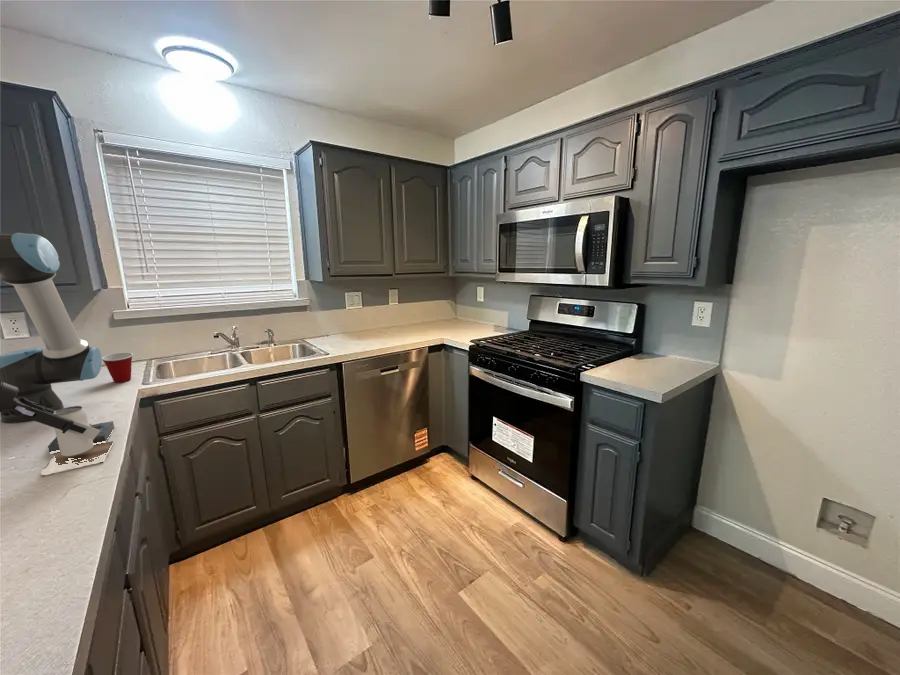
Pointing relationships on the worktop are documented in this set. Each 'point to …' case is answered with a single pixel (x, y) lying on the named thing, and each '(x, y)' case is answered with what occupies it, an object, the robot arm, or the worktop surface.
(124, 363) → the plastic cup
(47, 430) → the worktop surface
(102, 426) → the steel collar
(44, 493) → the worktop surface
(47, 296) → the robot arm
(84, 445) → the can
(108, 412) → the worktop surface
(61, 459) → the walnut pad
